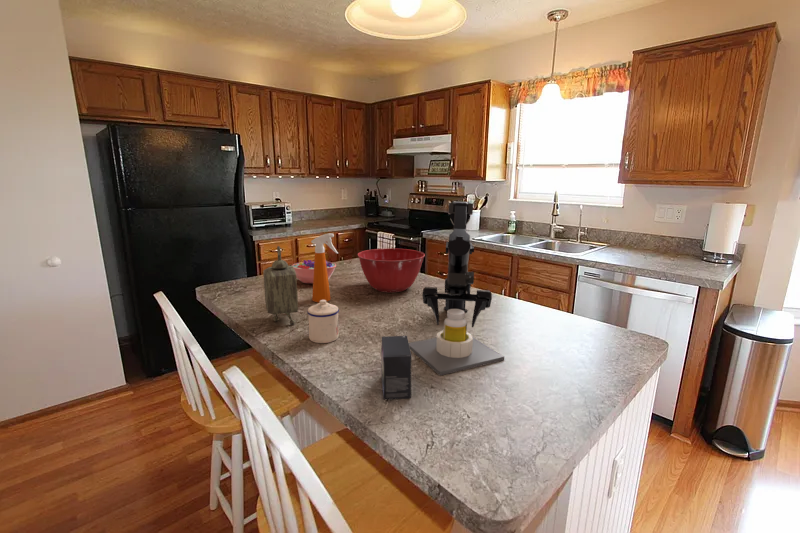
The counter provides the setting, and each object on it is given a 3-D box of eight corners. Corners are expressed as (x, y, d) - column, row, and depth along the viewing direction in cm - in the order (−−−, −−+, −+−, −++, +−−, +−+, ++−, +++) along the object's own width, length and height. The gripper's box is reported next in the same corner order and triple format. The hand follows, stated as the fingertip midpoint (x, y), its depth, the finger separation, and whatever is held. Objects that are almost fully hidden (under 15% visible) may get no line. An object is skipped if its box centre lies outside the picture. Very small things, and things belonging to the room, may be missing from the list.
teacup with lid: (344, 339, 113) (343, 302, 110) (314, 346, 108) (313, 307, 105) (328, 326, 123) (327, 291, 120) (301, 332, 118) (299, 296, 115)
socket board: (464, 335, 117) (465, 319, 116) (504, 359, 102) (505, 342, 100) (406, 346, 109) (407, 330, 108) (439, 375, 93) (440, 356, 92)
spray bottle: (336, 304, 144) (334, 234, 138) (309, 302, 146) (306, 233, 140) (342, 298, 151) (340, 232, 145) (316, 296, 153) (313, 231, 147)
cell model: (294, 278, 180) (293, 254, 177) (337, 277, 182) (337, 254, 180) (288, 288, 164) (287, 262, 161) (335, 287, 166) (335, 262, 163)
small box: (380, 375, 93) (380, 335, 90) (407, 374, 93) (407, 334, 91) (382, 400, 83) (382, 355, 80) (412, 399, 83) (413, 354, 81)
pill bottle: (469, 352, 103) (471, 314, 101) (448, 355, 101) (450, 316, 99) (459, 343, 109) (461, 306, 106) (439, 345, 107) (440, 308, 105)
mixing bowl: (350, 283, 173) (349, 249, 169) (407, 277, 184) (408, 245, 180) (370, 301, 147) (370, 262, 144) (435, 293, 158) (436, 257, 155)
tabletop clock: (299, 326, 122) (295, 249, 117) (269, 330, 119) (264, 251, 113) (293, 311, 135) (289, 242, 130) (266, 314, 132) (261, 243, 126)
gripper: (424, 258, 105) (418, 310, 97) (493, 261, 102) (494, 315, 94) (425, 279, 114) (421, 327, 106) (489, 282, 111) (489, 332, 103)
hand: (455, 325), depth 102 cm, fingers open, 9 cm apart
